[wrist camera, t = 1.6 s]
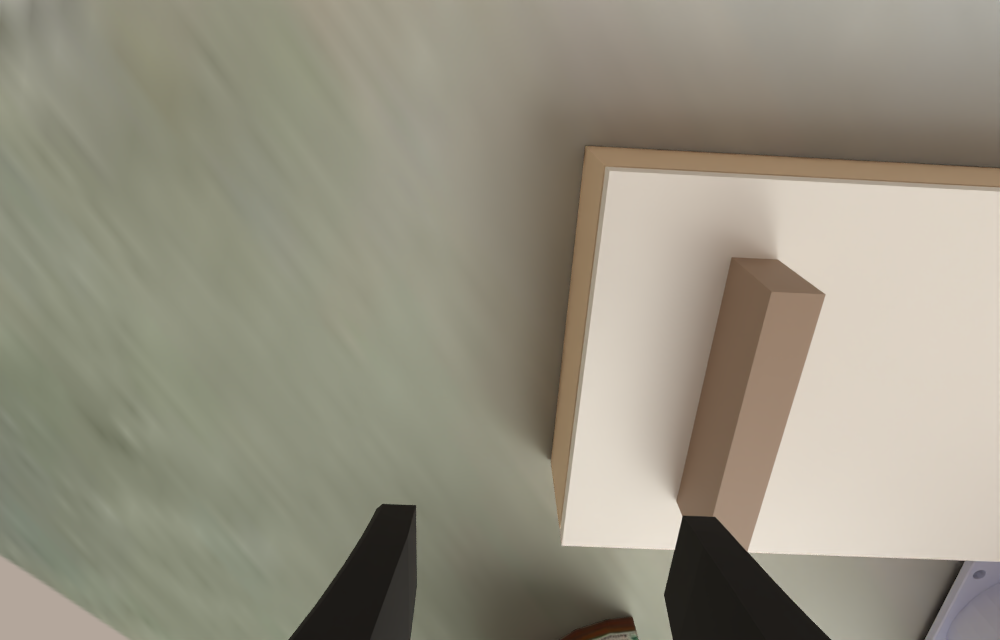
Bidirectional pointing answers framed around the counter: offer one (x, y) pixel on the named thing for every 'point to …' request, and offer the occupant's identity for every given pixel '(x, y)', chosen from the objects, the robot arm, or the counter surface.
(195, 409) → the counter surface
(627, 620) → the food container
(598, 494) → the box lid
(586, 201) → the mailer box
